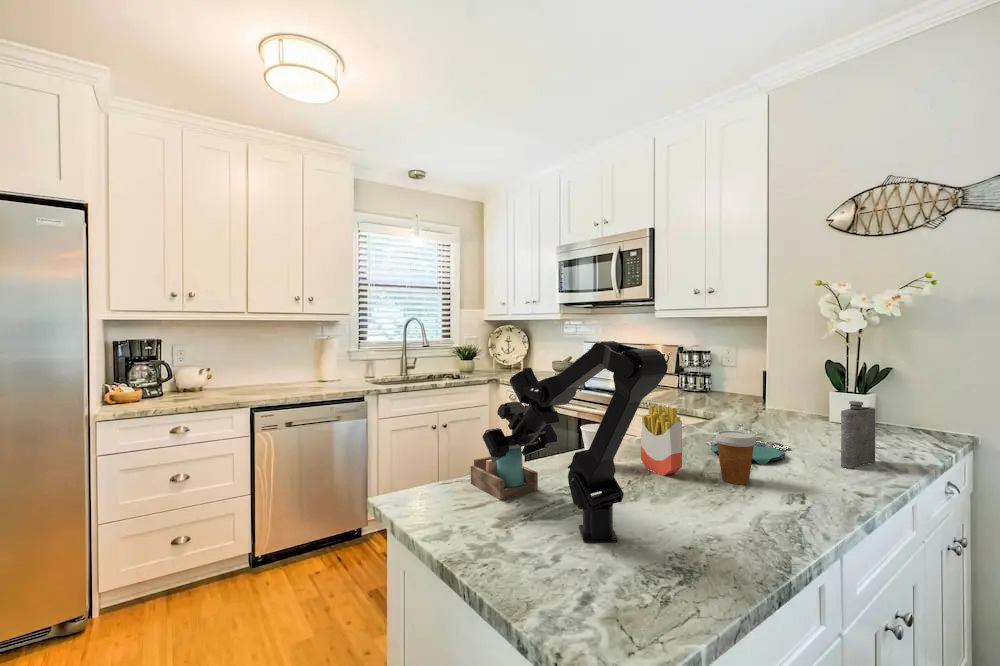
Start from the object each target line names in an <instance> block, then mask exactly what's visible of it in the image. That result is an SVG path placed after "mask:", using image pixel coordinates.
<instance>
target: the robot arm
mask: <svg viewBox="0 0 1000 666" xmlns="http://www.w3.org/2000/svg"><path fill="white" fill-rule="evenodd" d="M668 368H669V367H668V363H667V360H666V358H665V356H664V354H663V353H662V352H661V351H660V350H658V349H656V348H643V349H642V348H639V347H636V346H635V347H634V346H631V345H626V344H623V343H620V342H617V341H615V340H608V341H597V342H596V343H595V342H594V343H593V344H592V345H591V348H590V349H588V350H587V351H586V352H585V353H583V354H582V355H581V356H580V357H578V358H577V359H576V360H575V361H573V362H571V364H570V365H568V366H566V368H565V369H564V370H562V371H560V372H559V373H557V374H554V375H550V376H547V377H545V378H543V379H541V380H538V378H537V377H536V375H535V373H534V370H533V369H532V367H523V369H522V370H521V371H518V372H517V373H515V374H514V375H512V376H511V377H510V378H509V384H510V386H511V389H512V390H513V392H514V394H515V395H516V397H517V399H518V401H510V402H505V403H501V404H500V405H499V407H498V408H497V412H496V413H497V415H498V416H499V418H501V420H506V421H508V425H507V427H508V429H509V430H511V434H510V435H505V434H504V432H503V429H502V428H499V427H498V428H491V429H486V430H485V431H484V433H483V434H482V440H483V442H484V444H485V446H486V448H487V451H488V453H489V455H490V457H491V460H492V462H495V461H497V460H499V459H501V458H503V457H505V456H506V454H507V453H508V451H509V446H515V445H520V447H521V448H522V447H523V448H522V449H521V450H522V457H524V456H525V457H526V456H528V455H530V454H533V453H535V452H539V451H541V450H545V449H548V448H550V447H554V446H555V445H556V444H557V443H558V437H559V435H558V434H557V433H556V431H555V429H554V427H553V426H552V425H553V424H557V423H558V424H559V423H560V417H559V414H558V411H557V410H556V408H555V407H558V406H565V405H568V404H569V403H570V402H571V401H572V400H573V399H574V397H576V395H577V391H578V389H579V388H580V387H581V386H583V385H584V384H586V382H588V381H590V380H591V379H593V377H595V376H596V375H598V374H599V373H600V372H602V371H603V370H605V369H606V371H609V372H611V373H613V375H612V378H613V379H612V380H613V384H614V392H613V394H612V397H611V399H610V401H609V403H608V405H607V408H606V410H605V412H604V413H603V416H602V419H601V421H600V423H599V424H600V425H599V428H598V430H597V432H596V434H595V437H594V439H593V441H592V443H591V446H590V448H589V450H585V449H584V450H580V451H575V452H574V454H573V455H572V460H571V463H570V464H569V465H568V466H567V469H569V470H568V473H567V481H568V482H567V483H568V486H569V490H570V494H571V500H572V503H573V505H574V506H576V507H577V509H579V510H582V524H579V525H578V530H579V533H580V536H581V538H582V541H583V542H586V543H587V542H588V543H589V542H590V543H616V542H618V541H619V538H618V536H617V535H616V532H615V530H614V524H613V523H614V516H613V515H614V511H613V509H614V507H613V505H614V504H617V503H621V502H622V501H623V499H624V496H625V495H624V491H623V489H622V487H621V486H620V485H619V483H618V481H617V480H616V478H615V474H616V466H615V461H614V460H615V456H616V455H617V452H618V450H619V448H620V447H621V444H622V442H623V440H624V438H625V436H626V434H627V432H628V430H629V427H630V425H631V423H632V421H633V420H634V417H635V414H636V413H637V411H638V408H639V407H640V405H641V403H642V401H643V400H644V399H645V398H646V397H647V396H648V395H649V394H650V393H652V392H653V391H654V390H655V389H656V388H657V387H658V386H659V384H660V383H661V382H662V380H663V379H664V377H665V376H666V375H667V371H668ZM523 404H526V405H528V406H524V405H523ZM599 492H600V493H599ZM596 493H597V494H596Z"/></svg>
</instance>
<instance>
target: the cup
mask: <svg viewBox="0 0 1000 666" xmlns="http://www.w3.org/2000/svg"><path fill="white" fill-rule="evenodd" d="M599 425H600V423H590V424H589V423H588V424H583V425H581V426H580V429H581V434H582V435H581V436H582V440H583V444H584V445H583V446H584V450H589V448H590V446H591V443H592V441H593V439H594V437H595V434H596V432H597V430H598V428H599Z"/></svg>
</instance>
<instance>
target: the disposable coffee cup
mask: <svg viewBox="0 0 1000 666" xmlns="http://www.w3.org/2000/svg"><path fill="white" fill-rule="evenodd" d="M714 439H715V441H716V444H717V446H718V452H717V454H718V459H719V460H718V461H719V468H720V475H721V480H722V481H723V480H724V482H725V483H728V484H733V485H747V484H748V483H750V476H751V471H752V469H751V468H752V464H753V463H752V461H753V460H752V456H753V448H754V445H755V444H757V443H756V440H755V439H756V438H755V435H754V434H752V433H750V432H745V431H740V430H720V431H717V432H716V436H715V437H714Z"/></svg>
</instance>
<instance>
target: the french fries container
mask: <svg viewBox="0 0 1000 666" xmlns="http://www.w3.org/2000/svg"><path fill="white" fill-rule="evenodd" d="M664 410H665V411H663V405H661V404H659V405H657V408H656V407H655V405H648V414H645V415H644V414H643V415H641V419H642V421H641V438H640V439H641V440H640V460H641V461H642V463H643V465H644V466H645V468H646V470H648V469H649V470H652V471H654V472H656V473H655V474H657V473H659V474H661V475H660V476H662V475H665V476H669V475H673V474H672V473H674V474H676V473H677V471H679V470H681V468H683V420H681V417H680V416H677V407H670V406H666V407H664ZM654 472H653V473H654ZM659 474H658V475H659ZM668 474H669V475H668Z"/></svg>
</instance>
